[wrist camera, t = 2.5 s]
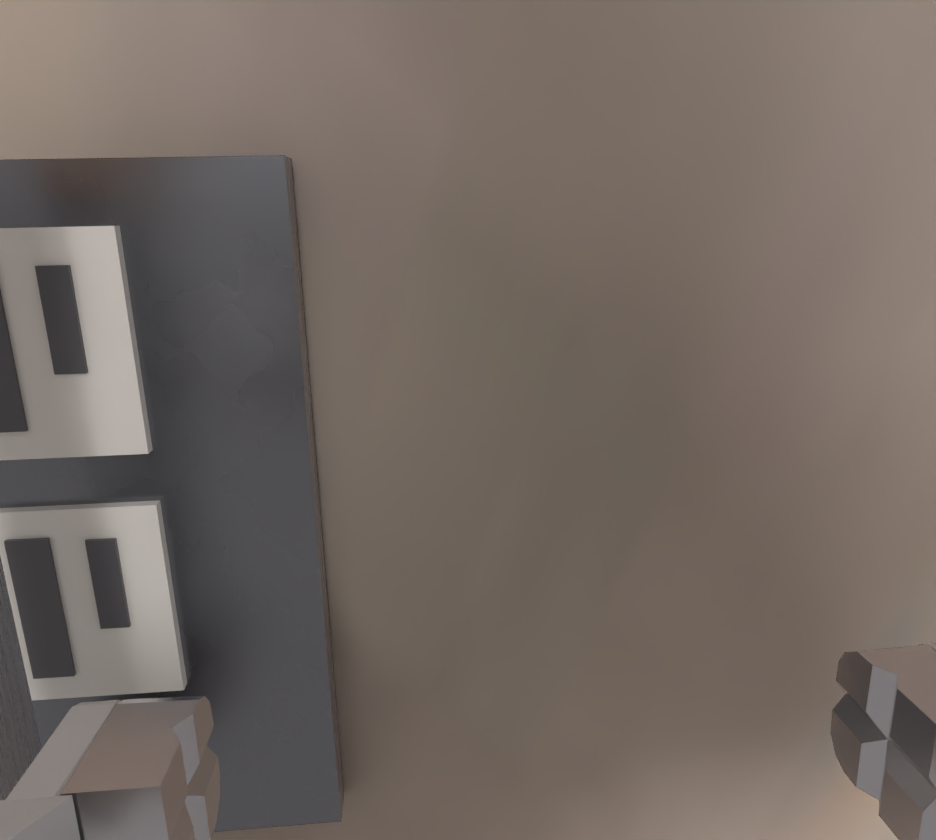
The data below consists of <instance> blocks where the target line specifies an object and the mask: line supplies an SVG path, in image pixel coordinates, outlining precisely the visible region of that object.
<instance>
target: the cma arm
mask: <svg viewBox="0 0 936 840" xmlns="http://www.w3.org/2000/svg"><path fill="white" fill-rule="evenodd" d="M41 749H42V745H41V740H40V736H39V731H38V727H37V722H36V717H35V713H34V708H33V704H32V699H31V695H30V690H29V685H28V681H27V676H26V672H25V667H24V662H23V658H22V653H21V649H20V644H19V640H18V635H17V630H16V626H15V621H14V617H13V612H12V607H11V603H10V598H9V594H8V589H7V585H6V580H5V575H4V571H3V566H2V562H1V557H0V800H6V798H7V797H8V795H9V794H10V793H11V791H12V790H13V788H14V787H15V786H16V784H17V783H18V781H19V780H20V779H21V777H22V776H23V774H24V773H25V772H26V770H27V769H28V767H29V766H30V765H31V763H32V762H33V760H34V759H35V757H36V756H37V755H38V753H39V752H40V750H41Z"/></svg>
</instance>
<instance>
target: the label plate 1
mask: <svg viewBox="0 0 936 840" xmlns="http://www.w3.org/2000/svg"><path fill="white" fill-rule="evenodd" d="M152 450H153V448H152V442H151V435H150V428H149V421H148V415H147V408H146V401H145V394H144V388H143V381H142V374H141V367H140V360H139V354H138V347H137V340H136V333H135V327H134V320H133V313H132V306H131V300H130V293H129V286H128V279H127V273H126V266H125V259H124V252H123V246H122V239H121V232H120V226H77V227H32V228H0V460H21V459H44V458H67V457H89V456H112V455H134V454H149V453H150V452H151V451H152Z"/></svg>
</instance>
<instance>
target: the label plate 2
mask: <svg viewBox="0 0 936 840" xmlns="http://www.w3.org/2000/svg"><path fill="white" fill-rule="evenodd" d="M0 557H1V562H2V566H3V571H4V575H5V580H6V585H7V589H8V594H9V598H10V603H11V607H12V612H13V617H14V621H15V626H16V630H17V635H18V640H19V644H20V649H21V653H22V658H23V662H24V667H25V672H26V676H27V681H28V685H29V690H30V695H31V699H32V701H33V700H48V699H63V698H78V697H92V696H107V695H122V694H137V693H151V692H166V691H181V690H184V689H185V687H186V685H187V678H186V671H185V665H184V658H183V651H182V644H181V638H180V631H179V624H178V617H177V611H176V604H175V597H174V590H173V584H172V577H171V570H170V563H169V557H168V550H167V543H166V536H165V529H164V523H163V516H162V509H161V502H160V500H156V501H136V502H115V503H95V504H75V505H54V506H34V507H13V508H0Z"/></svg>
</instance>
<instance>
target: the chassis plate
mask: <svg viewBox="0 0 936 840" xmlns="http://www.w3.org/2000/svg"><path fill="white" fill-rule="evenodd" d="M77 226H120V232H121V239H122V246H123V252H124V259H125V266H126V273H127V279H128V286H129V293H130V300H131V306H132V313H133V320H134V327H135V333H136V340H137V347H138V354H139V360H140V367H141V374H142V381H143V388H144V394H145V401H146V408H147V415H148V421H149V428H150V435H151V442H152V448H153V450H152V451H151V452H150V453H149V454H134V455H112V456H89V457H67V458H44V459H21V460H0V508H13V507H34V506H54V505H75V504H95V503H115V502H136V501H156V500H160V502H161V509H162V516H163V523H164V529H165V536H166V543H167V550H168V557H169V563H170V570H171V577H172V584H173V590H174V597H175V604H176V611H177V617H178V624H179V631H180V638H181V644H182V651H183V658H184V665H185V671H186V678H187V685H186V687H185V689H184V690H181V691H166V692H151V693H137V694H122V695H107V696H92V697H78V698H63V699H48V700H33V701H32V704H33V708H34V713H35V717H36V722H37V727H38V731H39V736H40V740H41V745H42V748H43V746H44V745H45V743H46V742H47V741H48V739H49V738H50V736H51V735H52V734H53V732H54V731H55V729H56V728H57V727H58V725H59V724H60V722H61V721H62V719H63V718H64V717H65V715H66V714H67V712H68V711H69V710H70V709H71V707H72V706H75V705H77V704H79V703H81V702H94V701H107V700H121V701H122V700H125V699H145V698H166V697H186V696H205V697H206V698H207V699H208V700H209V702H210V705H211V711H212V717H213V723H214V727H213V729H212V732H211V735H210V737H209V740H208V743H207V745H206V746H207V747H208V748H210V749H211V750H212V751H213V752H214V753H215V754H216V755H217V756H218V761H219V770H220V800H219V807H218V814H217V821H216V824H215V828H214V831H213V832H216V831H229V830H241V829H253V828H265V827H278V826H290V825H302V824H314V823H326V822H339V821H341V817H342V808H343V799H344V789H343V777H342V765H341V753H340V741H339V729H338V717H337V705H336V692H335V680H334V668H333V656H332V644H331V632H330V620H329V608H328V596H327V584H326V572H325V560H324V547H323V535H322V523H321V511H320V499H319V487H318V475H317V463H316V451H315V439H314V427H313V415H312V402H311V390H310V378H309V366H308V354H307V342H306V330H305V318H304V306H303V294H302V282H301V270H300V258H299V245H298V233H297V221H296V209H295V197H294V185H293V173H292V161H291V158H289V157H287V156H285V155H279V156H215V157H150V158H85V159H20V160H0V228H32V227H77Z"/></svg>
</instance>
